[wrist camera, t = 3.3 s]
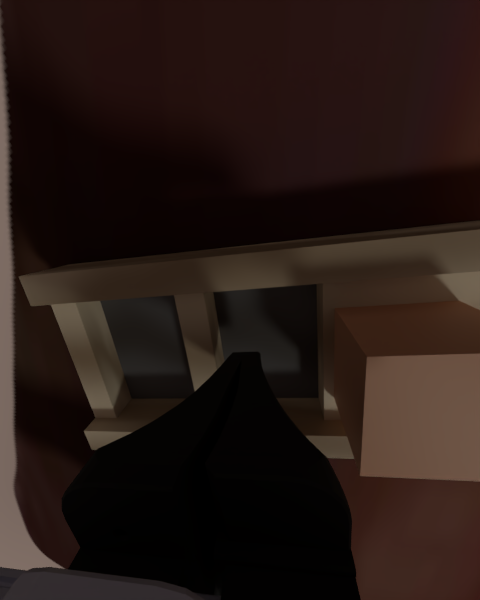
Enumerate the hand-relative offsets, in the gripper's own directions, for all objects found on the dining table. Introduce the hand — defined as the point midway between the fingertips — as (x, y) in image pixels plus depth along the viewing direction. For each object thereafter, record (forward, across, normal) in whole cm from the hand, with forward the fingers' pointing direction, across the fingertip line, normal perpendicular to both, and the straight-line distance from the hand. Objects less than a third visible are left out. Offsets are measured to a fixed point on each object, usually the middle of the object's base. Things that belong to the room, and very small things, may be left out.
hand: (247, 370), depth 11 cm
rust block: (+1, -7, 0) cm, 7 cm away
